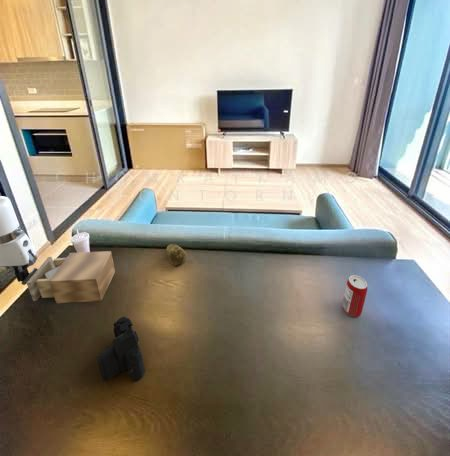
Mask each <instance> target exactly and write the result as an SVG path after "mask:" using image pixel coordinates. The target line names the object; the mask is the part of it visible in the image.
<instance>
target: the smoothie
mask: <svg viewBox="0 0 450 456" xmlns="http://www.w3.org/2000/svg"><path fill="white" fill-rule="evenodd" d="M75 232H76V234H74V235H73V236H71V238H70V243H71V244H72V245H73V247H74V249H75V251H76V253H79V252H91V249H90V234H89V233H88V232H86V231H83V232H79V229H78V228H75Z"/></svg>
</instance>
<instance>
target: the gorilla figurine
mask: <svg viewBox="0 0 450 456" xmlns="http://www.w3.org/2000/svg"><path fill="white" fill-rule="evenodd" d="M133 325H134V324H133V321H132V320H131V319H130V318H129V317H127V316H121V317H119V318H118V319H117V320H116V321H115V322H114V323H113V334H114V338H113V340H112V343H113V345H110V346H109V347H108V348H106V349H104V350H103V351H101V352H100V354H99V355H97V356H96V360H97V365H98V369H99V373H100V376H101V380H102V382H103V383H105V382H106V381H109V380H111V379H112V378H113V377H115V376H116V375H119V374H121V372H125V371H126V370H127V373H128V374H129V376H130V379H131V381H132V382H139V381H140V380H141V379H142V378H143V377H144V375H145V372H146V368H145V363H144V359H143V358H144V357H143V354H142V351H141V347H140V346H139V343H138V342H139V340H140V339H139V337H138V333H137V331H136V330H134V329H133Z"/></svg>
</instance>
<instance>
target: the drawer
mask: <svg viewBox="0 0 450 456" xmlns="http://www.w3.org/2000/svg"><path fill="white" fill-rule="evenodd" d="M66 258H67V257H58V258H57V257H56V258H53V256H48V257H46V259H45V260H44V261H43V262H42V264H41V265H40V266H39V268H37V267H33V269H31V271H30V272H29V274H28V276H27V277H26V278H25V279H24V280H23V281H22V282H20V284H21V285H22V286H26V285H27V289H28V291H29V293H30V296H31V299H32V301H33V302H37V301H38V300H39V298H40V297H41V299H47V298H54V295H53V292H52V289H51V286H50V283H49V280H50V279H46V276H45V273H47V272H48V271H50V270H52V269H54V268H56V267H58V266H60V265H61V264H62V263H63V262H64V260H65V259H66Z"/></svg>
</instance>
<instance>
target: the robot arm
mask: <svg viewBox="0 0 450 456" xmlns="http://www.w3.org/2000/svg"><path fill="white" fill-rule="evenodd" d="M16 214H17V213H16V212H15V209H14V207H13V204H12V201H11V199H10V198H9V197H7V196H4V195H3V196H2V195H1V196H0V267H1V268H7V269H9V270H10V271H11V273H13V274H14V276H15V278H16V280H17V282H18V283H22V281H23V280H24V279H25V278H26V277H27V276H28V274H29V273H30V272H29V269H28V267H31V266H33V265H35V263H36V262H37V261H36V259H35V258H34V257H36V256H37V251H36V249H35V246H34V245H33V243H32V240H31V238H30V237H29V236H28V235H27V234H26V232H25V230H24V229H22V228H21V225H20V222H19V220H18V218H17V215H16Z"/></svg>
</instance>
